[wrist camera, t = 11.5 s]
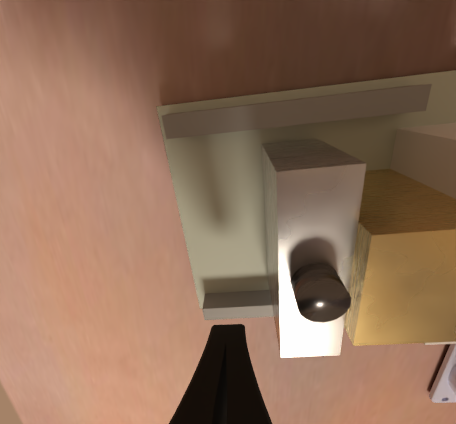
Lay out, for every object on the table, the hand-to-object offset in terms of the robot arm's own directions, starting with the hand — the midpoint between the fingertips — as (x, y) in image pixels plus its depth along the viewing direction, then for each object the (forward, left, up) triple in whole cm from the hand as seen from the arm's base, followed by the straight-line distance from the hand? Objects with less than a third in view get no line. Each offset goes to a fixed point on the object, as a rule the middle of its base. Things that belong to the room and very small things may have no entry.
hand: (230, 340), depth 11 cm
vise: (-5, -4, -5) cm, 8 cm away
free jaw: (-3, -4, -4) cm, 6 cm away
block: (-6, -4, -4) cm, 8 cm away
